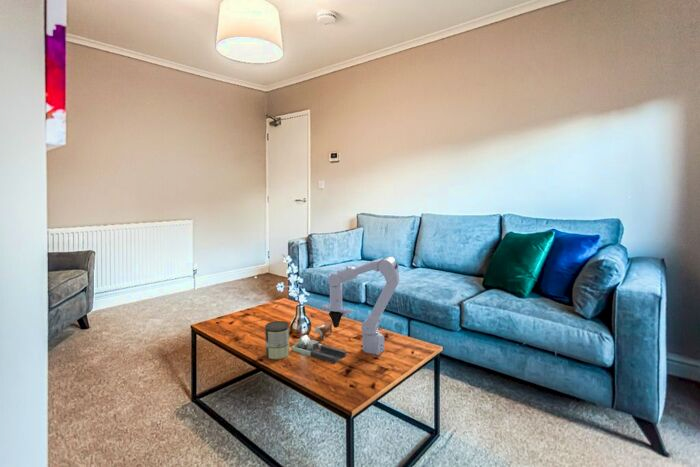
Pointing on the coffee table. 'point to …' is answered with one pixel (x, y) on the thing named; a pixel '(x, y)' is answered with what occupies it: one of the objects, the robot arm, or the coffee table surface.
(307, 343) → the grey cube
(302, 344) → the chip
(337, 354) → the slot board
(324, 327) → the bull figurine
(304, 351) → the tray
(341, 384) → the coffee table surface
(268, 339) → the coffee can
